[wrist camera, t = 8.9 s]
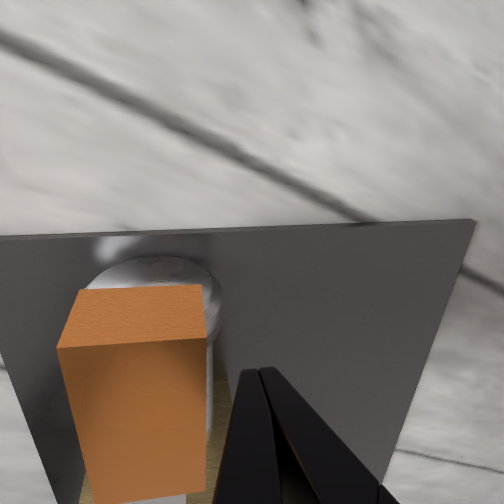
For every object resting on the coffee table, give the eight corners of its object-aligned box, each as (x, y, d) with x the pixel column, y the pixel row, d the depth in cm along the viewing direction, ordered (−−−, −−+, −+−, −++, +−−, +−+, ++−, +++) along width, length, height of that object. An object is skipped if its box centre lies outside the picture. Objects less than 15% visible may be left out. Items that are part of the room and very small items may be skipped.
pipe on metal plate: (372, 496, 29) (425, 616, 23) (78, 548, 25) (46, 709, 19) (470, 219, 18) (627, 309, 12) (-37, 237, 14) (-205, 386, 8)
